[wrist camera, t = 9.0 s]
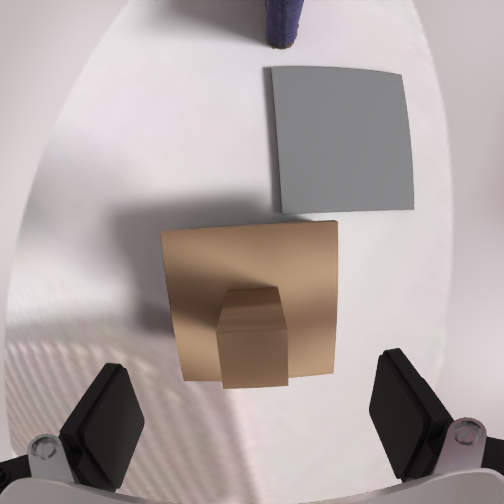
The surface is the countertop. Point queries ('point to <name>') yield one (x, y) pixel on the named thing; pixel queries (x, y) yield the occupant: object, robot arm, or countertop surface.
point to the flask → (282, 22)
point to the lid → (253, 301)
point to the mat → (342, 140)
